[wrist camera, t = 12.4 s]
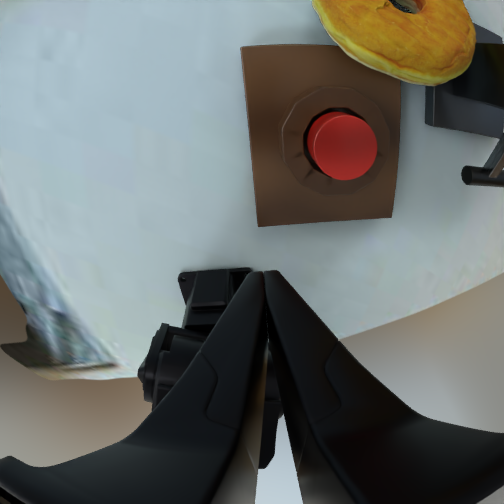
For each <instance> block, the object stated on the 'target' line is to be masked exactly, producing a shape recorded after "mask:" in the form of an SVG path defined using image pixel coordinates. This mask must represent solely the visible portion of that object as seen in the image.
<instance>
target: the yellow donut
mask: <svg viewBox="0 0 504 504" xmlns="http://www.w3.org/2000/svg"><path fill="white" fill-rule="evenodd" d="M395 1H396V2H397V3H398V4H400V5H402V6H404V7H405V8H407V9H408V10H410V11H411V12H412V13H413V14H412V13H404V12H402V11H400V10H399V9H397V8H395V7H394V5H393V4H392V3H391V2H390V1H389V0H312V6H313V8H314V10H315V11H316V12H317V14H318V16H319V18H320V21H321V23H322V25H323V26H324V28H325V30H326V32H327V33H328V34H329V35H330V37H331V38H332V40H333V41H334V42H336V43H337V44H338V45H339V47H340V48H341V49H342V50H343V51H344V52H345V53H346V54H347V55H348V56H350V57H351V58H353V59H354V60H356V61H358V62H360V63H362V64H363V65H365V66H367V67H369V68H372V69H374V70H377V71H380V72H382V73H385V74H388V75H390V76H392V77H394V78H397V79H400V80H402V81H405V82H408V83H412V84H418V85H426V86H436V85H438V84H442V83H446V82H447V81H449V80H451V79H453V78H456V77H458V76H459V75H461V74H462V73H463V72H464V71H465V70H467V68H468V67H469V65H470V63H471V62H472V57H473V54H474V50H475V44H476V41H477V40H476V32H475V27H474V25H473V23H472V20H471V18H470V15H469V13H468V11H467V9H466V7H465V5H464V3H463V0H395Z"/></svg>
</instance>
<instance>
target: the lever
mask: <svg viewBox="0 0 504 504" xmlns="http://www.w3.org/2000/svg"><path fill="white" fill-rule="evenodd" d="M503 168H504V133H503V135H502V136H501V138H500V140H499V142H498V143H497V145H496V147H495V149H494V150H493V152H492V154H491V155H490V157H489V159H488V160H487V162H486V163H485V165H484V167H476V166H464V167H463V169H462V173H461V176H462V180H463V182H464V183H465V184H466V185H476V186H493V187H504V170H502V169H503Z"/></svg>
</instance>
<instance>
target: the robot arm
mask: <svg viewBox="0 0 504 504" xmlns="http://www.w3.org/2000/svg"><path fill="white" fill-rule="evenodd" d="M245 273H248V275H246V274H245ZM182 278H185V279H182ZM178 282H179V285H180V289H181V292H182V295H183V298H184V301H185V304H186V310H185V314H184V319H183V324H182V328H178V327H173V326H169V324H165V323H162V324H161V327H160V329H159V330H157V332H156V335H155V336H154V337H153V339H152V342H151V346H150V349H149V352H148V355H147V356H146V358H145V359H144V361H143V362H142V364H141V366H140V367H139V369H138V378H139V379H140V381H141V382H142V383H143V390H144V400H145V401H147V402H152V403H153V404H152V412H151V413H150V414H149V415H148V417H147V418H146V419H145V420H144V421H143V422H142V423H141V425H140V426H139V427H138V428H137V429H136V430H135V431H134V432H133V433H131V434H130V435H129V436H127V437H126V438H124V439H123V440H121V441H120V442H117V443H115V444H113V445H110V446H107V447H105V448H102V449H100V450H98V451H95V452H92V453H90V454H87V455H84V456H81V457H78V458H76V459H73V460H70V461H67V462H64V463H61V464H58V465H54V466H49V467H33V466H30V465H27V464H25V463H24V462H22V461H20V460H18V459H16V458H14V457H12V456H7V457H5V458H2V459H0V504H255V496H256V486H257V475H258V469H265V468H266V467H267V465H268V464H269V463H270V461H271V460H272V458H273V457H274V454H275V441H276V431H277V424H278V419H279V418H281V417H282V415H283V414H284V417H285V422H286V426H287V431H288V436H289V440H290V445H291V450H292V454H293V459H294V463H295V468H296V471H297V477H298V481H299V487H300V491H301V496H302V500H303V504H504V433H494V432H488V431H483V430H478V429H472V428H468V427H463V426H458V425H454V424H449V423H445V422H441V421H437V420H433V419H430V418H427V417H425V416H423V415H421V414H419V413H417V412H416V411H414V410H412V409H411V408H410V407H409V406H408V405H406V404H405V403H404V402H403V401H402V400H401V399H399V398H398V397H397V396H396V395H395V394H394V393H393V392H391V391H390V390H389V389H388V388H387V387H386V386H385V385H383V384H382V383H381V382H380V381H379V380H378V379H377V378H376V377H374V376H373V375H372V374H371V373H370V372H369V371H368V370H367V369H366V368H365V367H364V366H362V365H361V364H360V363H359V362H358V360H357V359H356V358H355V357H354V356H353V355H352V354H351V353H350V352H349V351H348V350H347V349H346V347H345V346H344V345H343V344H342V343H341V342H340V341H338V338H337V337H336V336H335V335H334V334H333V333H332V331H331V330H330V329H329V328H328V327H327V326H326V325H325V323H324V322H323V321H322V320H321V319H320V318H319V317H318V315H317V314H316V313H315V312H314V311H313V310H312V309H311V307H310V306H309V305H308V304H307V303H306V302H305V301H304V300H303V298H302V297H301V296H300V295H299V294H298V293H297V292H296V290H295V289H294V288H293V287H292V286H291V285H290V284H289V282H288V281H287V280H286V279H285V278H284V277H283V276H282V275H281V273H280V272H279V271H277V270H271V271H265V272H264V275H263V272H262V271H259V272H253V270H252V269H251V268H235V269H219V270H205V271H196V272H183V273H180V274H179V276H178ZM264 286H265V288H264ZM265 300H266V301H265ZM266 313H267V315H266ZM267 327H268V329H267ZM268 339H269V342H268Z"/></svg>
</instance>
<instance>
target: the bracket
mask: <svg viewBox="0 0 504 504" xmlns="http://www.w3.org/2000/svg"><path fill="white" fill-rule="evenodd" d="M473 25H474V27H475V32H476V40H477V41H476V44H475V50H474V54H473V57H472V62H471V63H470V65H469V67H468V68H467V70H465V71H464V72H463V73H462V74H461V75H459V76H458V77H456V78H453V79H451V80H449V81H447V82H446V83H442V84H438V85H436V86H426V111H425V123H426V124H428V125H431V126H433V127H441V128H447V129H453V130H459V131H465V132H470V133H475V134H480V135H485V136H489V137H494V138H498V139H500V138H501V136H502V135H503V129H504V44H503V42H502V37H500V36H498V35H496V34H494V33H493V32H491V31H489V30H487V29H485V28H483V27H481V26H479V25H477V24H475V23H473Z"/></svg>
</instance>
